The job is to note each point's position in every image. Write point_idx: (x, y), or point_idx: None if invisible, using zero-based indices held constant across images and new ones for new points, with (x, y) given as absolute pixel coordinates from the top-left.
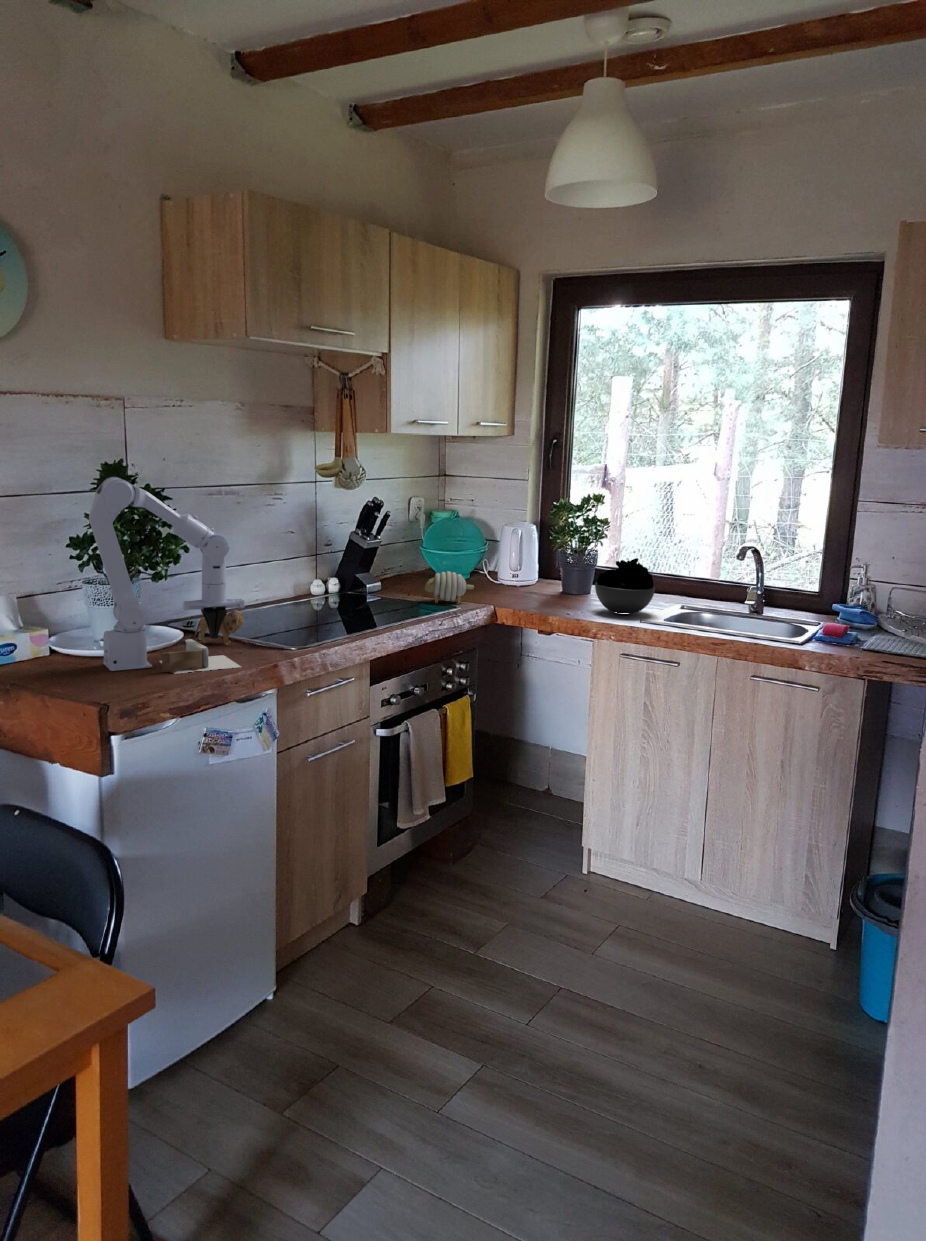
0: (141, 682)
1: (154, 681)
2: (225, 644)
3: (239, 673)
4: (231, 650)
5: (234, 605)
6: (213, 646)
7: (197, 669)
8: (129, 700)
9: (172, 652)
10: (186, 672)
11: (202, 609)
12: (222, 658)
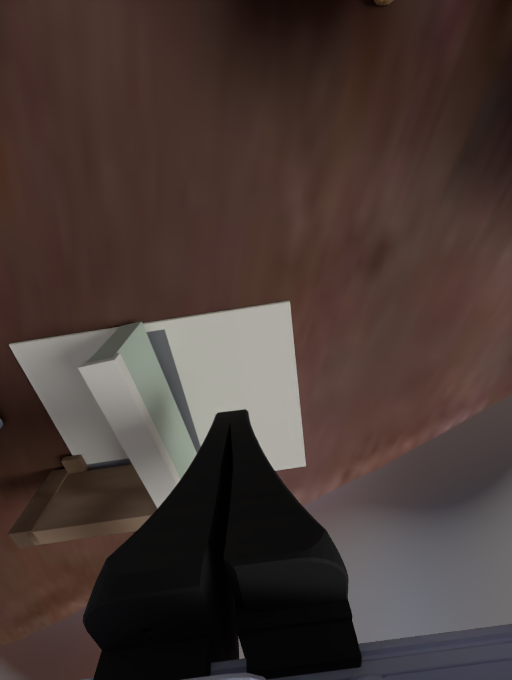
0: None
1: None
2: (375, 1)
3: None
4: (357, 187)
5: (479, 676)
6: (289, 28)
7: None
8: (24, 623)
9: (51, 537)
10: None
11: (107, 657)
12: (271, 356)
